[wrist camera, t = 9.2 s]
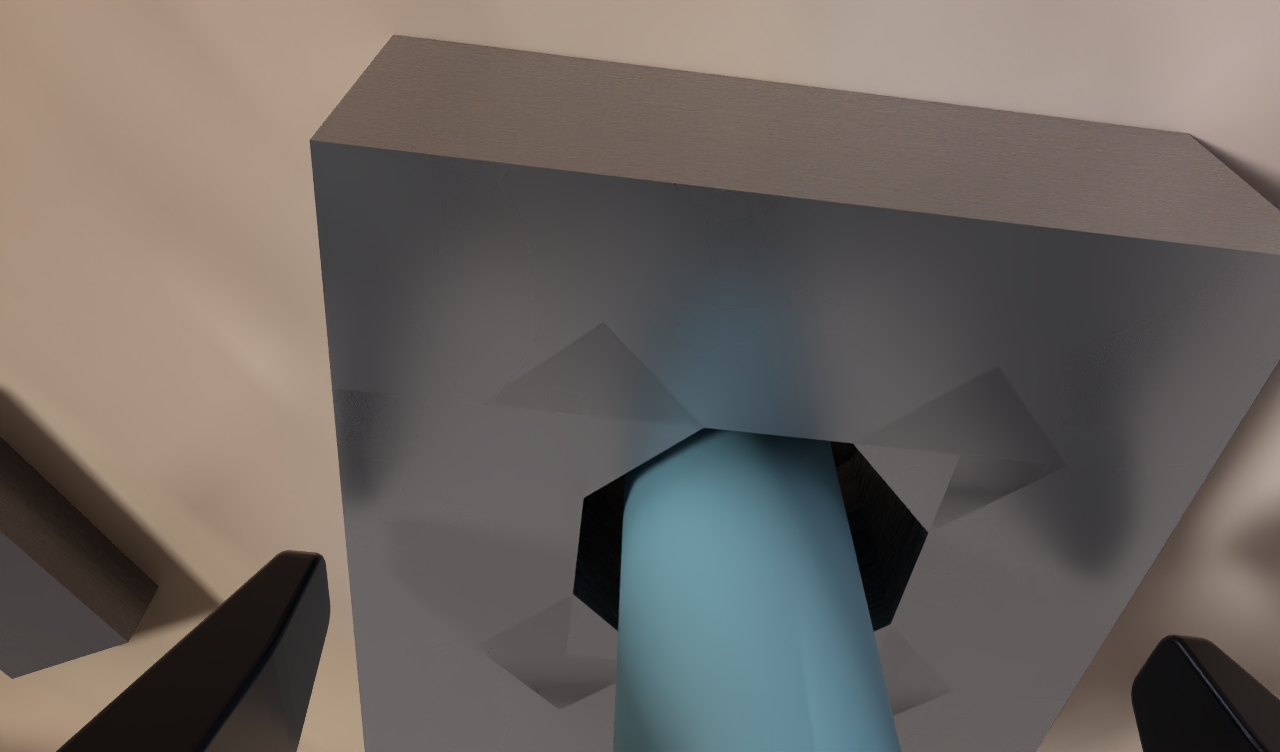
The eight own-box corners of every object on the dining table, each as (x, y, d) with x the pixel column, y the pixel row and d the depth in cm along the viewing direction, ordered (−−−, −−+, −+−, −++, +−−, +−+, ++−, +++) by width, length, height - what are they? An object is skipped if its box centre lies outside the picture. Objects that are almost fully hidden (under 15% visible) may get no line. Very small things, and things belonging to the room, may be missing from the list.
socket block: (947, 641, 16) (998, 811, 14) (412, 591, 16) (365, 757, 13) (1188, 133, 11) (1340, 262, 8) (393, 34, 10) (310, 139, 8)
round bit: (794, 477, 14) (887, 1012, 8) (618, 459, 14) (592, 991, 8) (836, 330, 12) (985, 859, 7) (639, 308, 12) (624, 830, 7)
